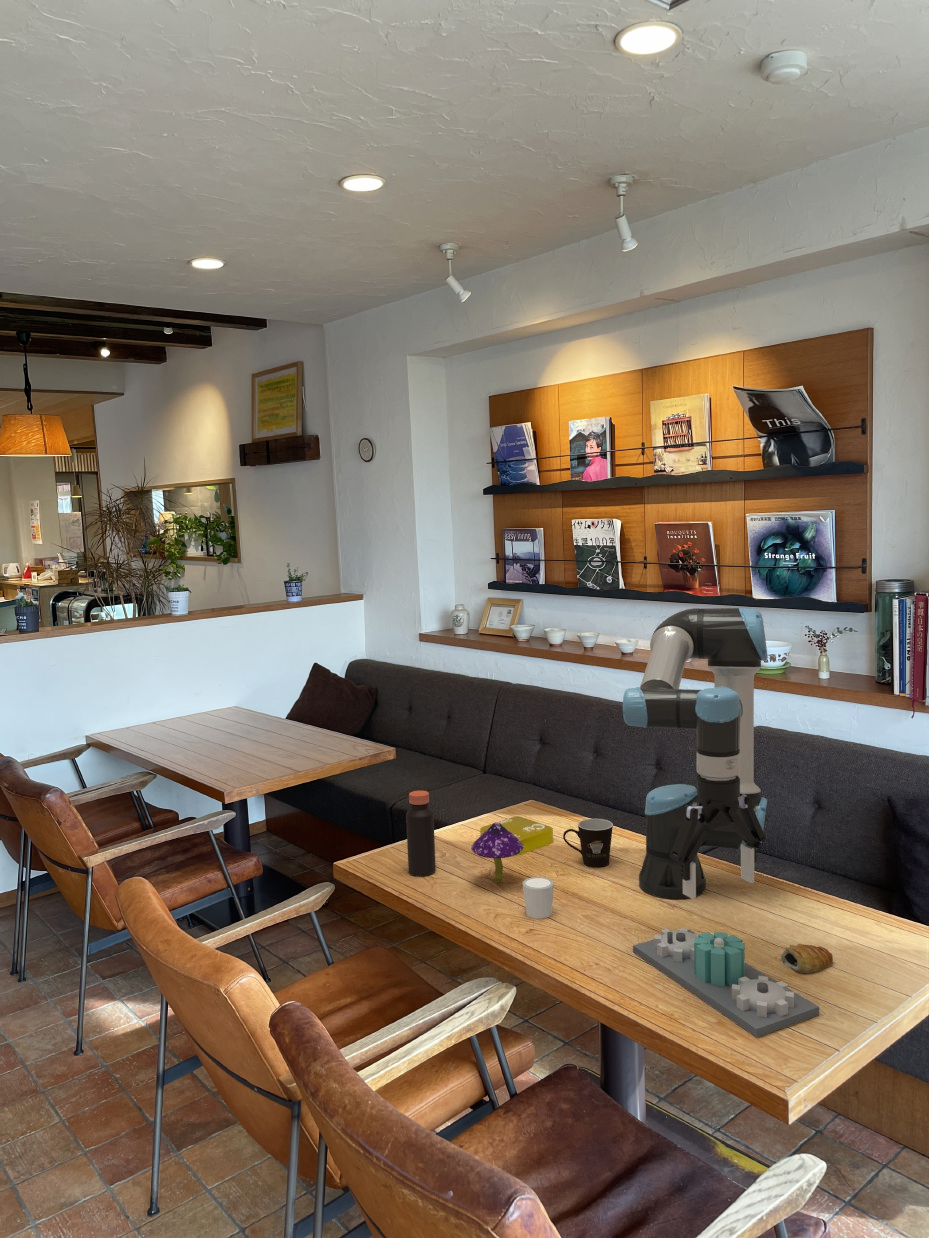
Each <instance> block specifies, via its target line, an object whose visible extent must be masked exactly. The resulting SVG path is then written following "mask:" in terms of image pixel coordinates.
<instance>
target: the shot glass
mask: <svg viewBox="0 0 929 1238" xmlns="http://www.w3.org/2000/svg"><path fill="white" fill-rule="evenodd" d="M521 883H522V890H523V898H524V905H525V913H526V914H525V915H526V916H527V917H529V918H530V919H536V920H539V919H542V920H543V919H547V918H549V917H551V916H552V914H553V913H552V912H553V899H554V886H555V885H554V884H555V883H554V881H553V880H552V879H551V878H547V877H541V876H532V877H529V878H526V879H524V880H523V881H522V882H521Z"/></svg>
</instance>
